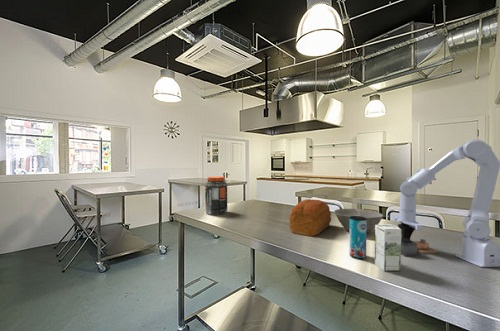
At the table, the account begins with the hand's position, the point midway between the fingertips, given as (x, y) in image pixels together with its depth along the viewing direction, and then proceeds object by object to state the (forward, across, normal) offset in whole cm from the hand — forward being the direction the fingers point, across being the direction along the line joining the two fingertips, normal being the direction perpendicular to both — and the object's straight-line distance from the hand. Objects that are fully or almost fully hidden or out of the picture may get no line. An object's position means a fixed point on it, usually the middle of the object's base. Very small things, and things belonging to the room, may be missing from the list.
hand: (406, 241), depth 98 cm
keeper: (+2, +5, -4) cm, 7 cm away
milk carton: (+3, +18, -19) cm, 26 cm away
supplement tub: (+6, -70, -89) cm, 113 cm away
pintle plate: (+2, +3, +5) cm, 6 cm away
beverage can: (+3, +8, -24) cm, 26 cm away
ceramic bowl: (+3, -24, -9) cm, 26 cm away
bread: (+4, -29, -32) cm, 44 cm away
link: (+1, +2, 0) cm, 2 cm away
